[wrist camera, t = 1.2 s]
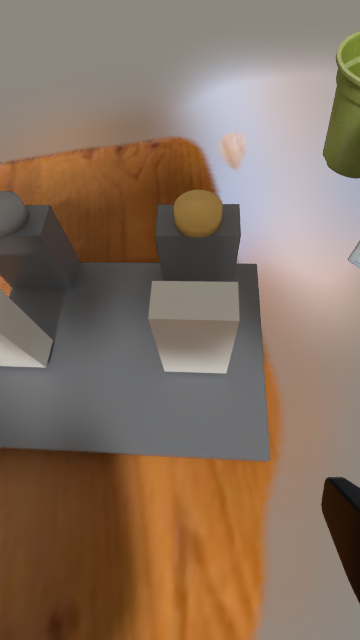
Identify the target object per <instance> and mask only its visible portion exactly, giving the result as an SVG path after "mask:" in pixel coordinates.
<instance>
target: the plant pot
mask: <svg viewBox="0 0 360 640" xmlns="http://www.w3.org/2000/svg"><path fill="white" fill-rule="evenodd" d="M336 63H337V66H338V71H337V76H336V82H337V88H336V93H335V98H334V104H333V108H332V113H331V117H330V122H329V127H328V132H327V136H326V141H325V145H324V150H323V156H324V157H325V160H326V162H327V165H328V167H329V168H331V169H332V170H333V171H335V172H336V173H338V174H340V175H343V176H346V177H350V178H360V32H357V33H355V34H353V35H350V36H349V37H348V38H346V39H345V40H344V41H343V42H342V43H341V45H340V46H339V48H338V50H337V54H336Z"/></svg>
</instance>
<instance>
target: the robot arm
mask: <svg viewBox="0 0 360 640" xmlns="http://www.w3.org/2000/svg"><path fill="white" fill-rule="evenodd" d="M321 505H322V512H323V515H324V518H325V520H326V523H327V526H328V528H329V531H330V534H331V536H332V539H333V541H334V544H335V546H336V549H337V552H338V554H339V557H340V560H341V562H342V565H343V567H344V570H345V572H346V575H347V577H348V580H349V582H350V584H351V586H352V589H353V591H354V593H355V595H356V597H357V599H358V601H359V603H360V488H359V487H357V486H356V485H354V484H353V483H351V482H350V481H348V480H347V479H345V478H343V477H328V478H326V480H325V483H324V490H323V496H322V504H321Z"/></svg>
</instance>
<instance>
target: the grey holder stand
mask: <svg viewBox="0 0 360 640" xmlns="http://www.w3.org/2000/svg"><path fill="white" fill-rule="evenodd" d="M240 237H241V232H240V208H239V204H222V202H221V200H220V199H219V197H218V196H217V195H215V194H214V193H212V192H210V191H206V190H191V191H188V192H185V193H183V194H182V195H181V196H179V197H178V198H177V200H176V201H175V203H174V205H158V213H157V222H156V231H155V239H156V244H157V250H158V255H159V261H160V263H100V262H80V260H79V258H78V256H77V255H76V253H75V251H74V249H73V247H72V245H71V243H70V242H69V240H68V238H67V236H66V234H65V232H64V230H63V229H62V227H61V225H60V223H59V221H58V219H57V218H56V216H55V214H54V212H53V210H52V208H51V206H50V205H24V204H23V202H22V201H21V199H20V198H19V196H18V195H17V194H15V193H13V192H9V191H0V275H1V276H2V277H3V279H4V280H5V281H6V282H7V283H8V284H9V285H10V286H11V287H12V290H11V293H10V296H9V298H10V299H11V300H12V301H13V302H14V303H15V304H16V305H17V306H18V307H19V308H20V309H21V310H22V311H23V312H24V313H25V314H26V315H27V316H28V317H29V318H30V319H32V320H33V321H34V322H35V323H36V324H37V325H38V326H39V327H40V328H41V329H42V330H43V331H44V332H45V333H46V334H47V335H48V336H49V337H50V338H51V339H52V340H53V342H52V346H51V350H50V354H49V358H48V362H47V366H46V368H43V367H12V366H0V448H8V449H27V450H47V451H66V452H85V453H105V454H124V455H144V456H163V457H182V458H202V459H221V460H241V461H260V462H267V461H270V448H269V433H268V419H267V405H266V390H265V376H264V361H263V347H262V333H261V318H260V304H259V289H258V277H257V276H258V275H257V264H236V261H237V255H238V249H239V243H240ZM152 281H202V282H238V292H239V320H240V321H239V325H238V329H237V333H236V337H235V341H234V345H233V349H232V353H231V357H230V361H229V365H228V369H227V373H195V372H165V371H164V368H163V365H162V362H161V358H160V355H159V352H158V349H157V346H156V343H155V339H154V336H153V333H152V330H151V327H150V323H149V320H148V315H149V305H150V296H151V286H152Z"/></svg>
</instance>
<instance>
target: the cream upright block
mask: <svg viewBox="0 0 360 640" xmlns="http://www.w3.org/2000/svg"><path fill="white" fill-rule="evenodd" d="M52 342H53V340H52V339H51V338H50V337H49V336H48V335H47V334H46V333H45V332H44V331H43V330H42V329H41V328H40V327H39V326H38V325H37V324H36V323H35V322H34V321H33V320H32V319H30V318H29V317H28V316H27V315H26V314H25V313H24V312H23V311H22V310H21V309H20V308H19V307H18V306H17V305H16V304H15V303H14V302H13V301H12V300H11V299H10V298H9V297H8V296H7V295H6V294H5V293H4V292H3V291H1V290H0V366H12V367H43V368H46V366H47V362H48V358H49V354H50V350H51V346H52Z"/></svg>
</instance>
